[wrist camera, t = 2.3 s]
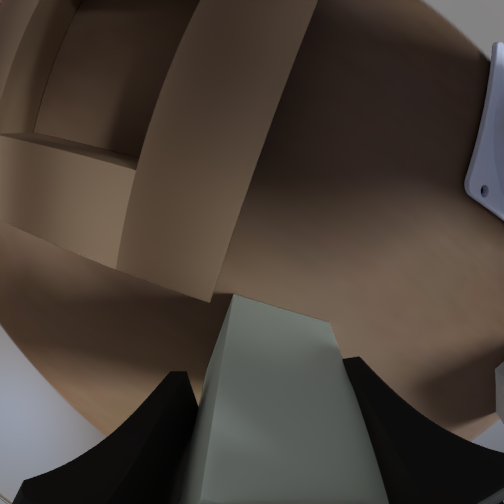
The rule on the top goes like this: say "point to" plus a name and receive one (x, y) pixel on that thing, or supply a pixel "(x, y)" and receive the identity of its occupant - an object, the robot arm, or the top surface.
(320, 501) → the green peg
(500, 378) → the grey gabled block
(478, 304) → the top surface
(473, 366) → the top surface
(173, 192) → the walnut holder
